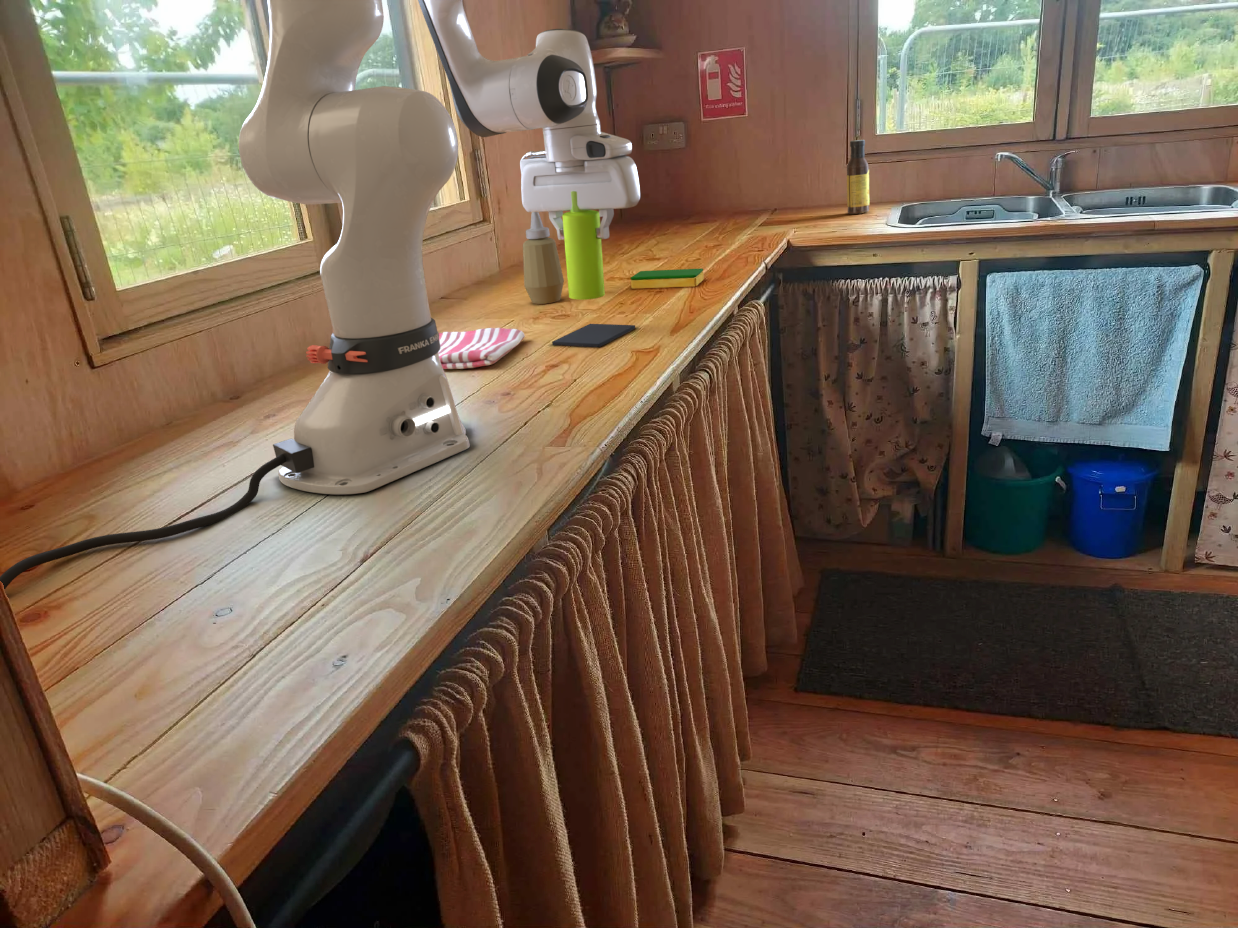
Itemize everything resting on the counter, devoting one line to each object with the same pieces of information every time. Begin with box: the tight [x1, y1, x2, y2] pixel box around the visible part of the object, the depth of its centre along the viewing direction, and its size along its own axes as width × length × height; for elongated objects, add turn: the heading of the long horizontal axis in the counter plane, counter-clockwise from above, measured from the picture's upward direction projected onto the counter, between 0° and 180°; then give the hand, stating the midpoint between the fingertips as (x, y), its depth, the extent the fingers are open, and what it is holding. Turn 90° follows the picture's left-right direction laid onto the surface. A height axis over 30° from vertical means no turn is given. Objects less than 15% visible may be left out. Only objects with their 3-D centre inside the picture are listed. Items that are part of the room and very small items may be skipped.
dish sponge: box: [630, 267, 705, 290], centre depth 180 cm, size 7×14×2 cm, turn 72°
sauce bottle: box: [846, 139, 871, 215], centre depth 249 cm, size 6×6×20 cm
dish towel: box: [438, 327, 525, 370], centre depth 141 cm, size 17×23×4 cm
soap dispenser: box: [561, 191, 606, 301], centre depth 139 cm, size 6×7×20 cm
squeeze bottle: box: [522, 212, 565, 305], centre depth 173 cm, size 8×8×18 cm
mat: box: [551, 323, 636, 348], centre depth 145 cm, size 12×9×1 cm
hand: (583, 239), depth 139 cm, fingers closed on soap dispenser, 6 cm apart
